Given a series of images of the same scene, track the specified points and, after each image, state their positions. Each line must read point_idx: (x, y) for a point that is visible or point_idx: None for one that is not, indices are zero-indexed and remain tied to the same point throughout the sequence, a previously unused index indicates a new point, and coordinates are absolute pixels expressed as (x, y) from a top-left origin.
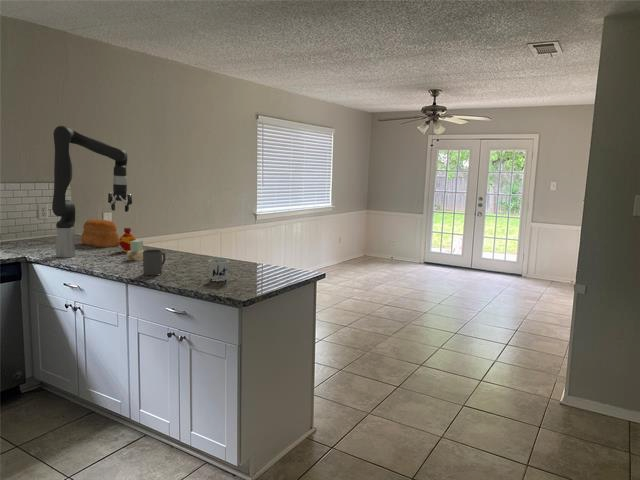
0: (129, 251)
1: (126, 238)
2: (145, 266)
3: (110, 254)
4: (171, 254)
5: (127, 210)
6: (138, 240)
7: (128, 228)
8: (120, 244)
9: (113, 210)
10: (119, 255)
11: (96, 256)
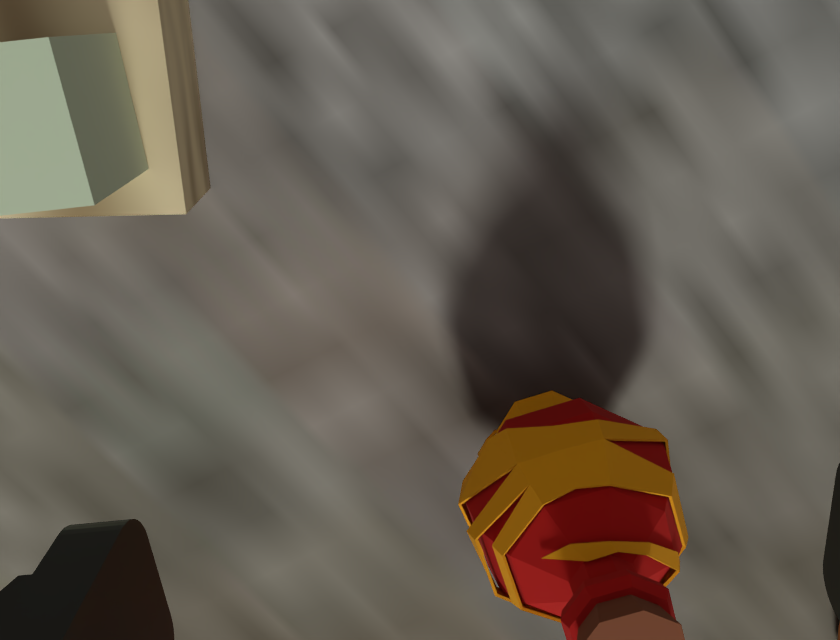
0: (131, 26)
1: (545, 473)
2: None
3: (616, 203)
4: (5, 509)
5: (6, 610)
6: (14, 201)
7: (591, 637)
8: (627, 421)
9: (836, 476)
10: (475, 199)
11: (696, 3)
